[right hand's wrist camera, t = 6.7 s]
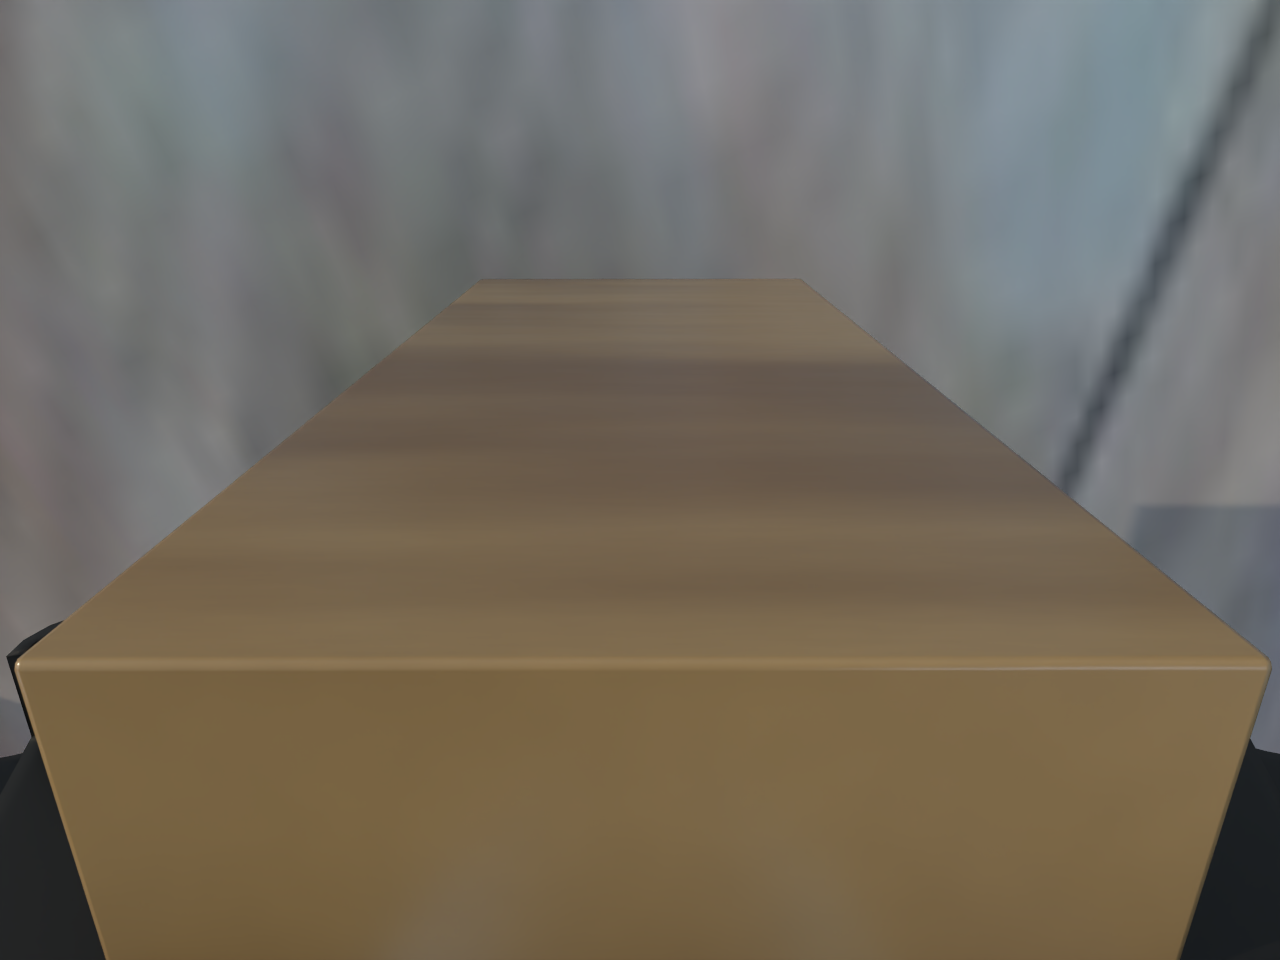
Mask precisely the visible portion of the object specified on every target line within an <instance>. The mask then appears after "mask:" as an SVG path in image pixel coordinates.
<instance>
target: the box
mask: <svg viewBox="0 0 1280 960" xmlns="http://www.w3.org/2000/svg"><path fill="white" fill-rule="evenodd" d="M1271 670H1272V666H1271V662H1270V660H1269V658H1268V657H1267V656H1266V655H1265V654H1263V653H1262V652H1261V651H1260V650H1258V649H1257V648H1256V647H1255V646H1253V645H1252V644H1251V643H1250V642H1249V641H1247V640H1246V639H1245V638H1244V637H1242V636H1241V635H1240V634H1239V633H1237V632H1236V631H1235V630H1234V629H1232V628H1231V627H1230V626H1229V625H1228V624H1226V623H1225V622H1224V621H1223V620H1221V619H1220V618H1219V617H1218V616H1216V615H1215V614H1214V613H1213V612H1211V611H1210V610H1209V609H1208V608H1207V607H1205V606H1204V605H1203V604H1202V603H1200V602H1199V601H1198V600H1197V599H1195V598H1194V597H1193V596H1192V595H1190V594H1189V593H1188V592H1187V591H1186V590H1184V589H1183V588H1182V587H1181V586H1179V585H1178V584H1177V583H1176V582H1174V581H1173V580H1172V579H1171V578H1169V577H1168V576H1167V575H1166V574H1165V573H1163V572H1162V571H1161V570H1160V569H1158V568H1157V567H1156V566H1155V565H1153V564H1152V563H1151V562H1150V561H1148V560H1147V559H1146V558H1145V557H1144V556H1142V555H1141V554H1140V553H1139V552H1137V551H1136V550H1135V549H1134V548H1132V547H1131V546H1130V545H1129V544H1127V543H1126V542H1125V541H1124V540H1123V539H1121V538H1120V537H1119V536H1118V535H1116V534H1115V533H1114V532H1113V531H1111V530H1110V529H1109V528H1108V527H1106V526H1105V525H1104V524H1103V523H1102V522H1100V521H1099V520H1098V519H1097V518H1095V517H1094V516H1093V515H1092V514H1090V513H1089V512H1088V511H1087V510H1085V509H1084V508H1083V507H1082V506H1081V505H1079V504H1078V503H1077V502H1076V501H1074V500H1073V499H1072V498H1071V497H1069V496H1068V495H1067V494H1066V493H1064V492H1063V491H1062V490H1061V489H1060V488H1058V487H1057V486H1056V485H1055V484H1053V483H1052V482H1051V481H1050V480H1048V479H1047V478H1046V477H1045V476H1043V475H1042V474H1041V473H1040V472H1038V471H1037V470H1036V469H1035V468H1034V467H1032V466H1031V465H1030V464H1029V463H1027V462H1026V461H1025V460H1024V459H1022V458H1021V457H1020V456H1019V455H1017V454H1016V453H1015V452H1014V451H1013V450H1011V449H1010V448H1009V447H1008V446H1006V445H1005V444H1004V443H1003V442H1001V441H1000V440H999V439H998V438H996V437H995V436H994V435H993V434H992V433H990V432H989V431H988V430H987V429H985V428H984V427H983V426H982V425H980V424H979V423H978V422H977V421H975V420H974V419H973V418H972V417H971V416H969V415H968V414H967V413H966V412H964V411H963V410H962V409H961V408H959V407H958V406H957V405H956V404H954V403H953V402H952V401H951V400H950V399H948V398H947V397H946V396H945V395H943V394H942V393H941V392H940V391H938V390H937V389H936V388H935V387H933V386H932V385H931V384H930V383H929V382H927V381H926V380H925V379H924V378H922V377H921V376H920V375H919V374H917V373H916V372H915V371H914V370H912V369H911V368H910V367H909V366H908V365H906V364H905V363H904V362H903V361H901V360H900V359H899V358H898V357H896V356H895V355H894V354H893V353H891V352H890V351H889V350H888V349H887V348H885V347H884V346H883V345H882V344H880V343H879V342H878V341H877V340H875V339H874V338H873V337H872V336H870V335H869V334H868V333H867V332H866V331H864V330H863V329H862V328H861V327H859V326H858V325H857V324H856V323H854V322H853V321H852V320H851V319H849V318H848V317H847V316H846V315H845V314H843V313H842V312H841V311H840V310H838V309H837V308H836V307H835V306H833V305H832V304H831V303H830V302H828V301H827V300H826V299H825V298H824V297H822V296H821V295H820V294H819V293H817V292H816V291H815V290H814V289H812V288H811V287H810V286H809V285H807V284H806V283H805V282H804V281H803V280H801V279H482V280H480V281H478V282H477V283H476V284H475V285H474V286H472V287H471V288H470V289H469V290H467V291H466V292H465V293H464V294H463V295H461V296H460V297H459V298H458V299H456V300H455V301H454V302H453V303H452V304H450V305H449V306H448V307H447V308H445V309H444V310H443V311H442V312H441V313H439V314H438V315H437V316H436V317H434V318H433V319H432V320H431V321H430V322H428V323H427V324H426V325H425V326H423V327H422V328H421V329H420V330H419V331H417V332H416V333H415V334H414V335H412V336H411V337H410V338H409V339H408V340H406V341H405V342H404V343H403V344H401V345H400V346H399V347H398V348H397V349H395V350H394V351H393V352H392V353H390V354H389V355H388V356H387V357H386V358H384V359H383V360H382V361H381V362H380V363H378V364H377V365H376V366H375V367H373V368H372V369H371V370H370V371H369V372H367V373H366V374H365V375H364V376H362V377H361V378H360V379H359V380H358V381H356V382H355V383H354V384H353V385H351V386H350V387H349V388H348V389H347V390H345V391H344V392H343V393H342V394H340V395H339V396H338V397H337V398H336V399H334V400H333V401H332V402H331V403H329V404H328V405H327V406H326V407H325V408H323V409H322V410H321V411H320V412H318V413H317V414H316V415H315V416H314V417H312V418H311V419H310V420H309V421H307V422H306V423H305V424H304V425H303V426H301V427H300V428H299V429H298V430H296V431H295V432H294V433H293V434H292V435H290V436H289V437H288V438H287V439H285V440H284V441H283V442H282V443H281V444H279V445H278V446H277V447H276V448H274V449H273V450H272V451H271V452H270V453H268V454H267V455H266V456H265V457H263V458H262V459H261V460H260V461H259V462H257V463H256V464H255V465H254V466H252V467H251V468H250V469H249V470H248V471H246V472H245V473H244V474H243V475H241V476H240V477H239V478H238V479H237V480H235V481H234V482H233V483H232V484H230V485H229V486H228V487H227V488H226V489H224V490H223V491H222V492H221V493H219V494H218V495H217V496H216V497H215V498H213V499H212V500H211V501H210V502H208V503H207V504H206V505H205V506H204V507H202V508H201V509H200V510H199V511H197V512H196V513H195V514H194V515H193V516H191V517H190V518H189V519H188V520H186V521H185V522H184V523H183V524H182V525H180V526H179V527H178V528H177V529H176V530H174V531H173V532H172V533H171V534H169V535H168V536H167V537H166V538H165V539H163V540H162V541H161V542H160V543H158V544H157V545H156V546H155V547H154V548H152V549H151V550H150V551H149V552H147V553H146V554H145V555H144V556H143V557H141V558H140V559H139V560H138V561H136V562H135V563H134V564H133V565H132V566H130V567H129V568H128V569H127V570H125V571H124V572H123V573H122V574H121V575H119V576H118V577H117V578H116V579H114V580H113V581H112V582H111V583H110V584H108V585H107V586H106V587H105V588H103V589H102V590H101V591H100V592H99V593H97V594H96V595H95V596H94V597H92V598H91V599H90V600H89V601H88V602H86V603H85V604H84V605H83V606H81V607H80V608H79V609H78V610H77V611H75V612H74V613H73V614H72V615H70V616H69V617H68V618H67V619H66V620H64V621H63V622H62V623H61V624H59V625H58V626H57V627H56V628H55V629H53V630H52V631H51V632H50V633H48V634H47V635H46V636H45V637H44V638H42V639H41V640H40V641H39V642H37V643H36V644H35V645H34V646H33V647H31V648H30V649H29V650H28V651H26V652H25V653H24V654H23V655H22V656H20V657H19V658H18V659H17V661H16V663H15V669H14V671H15V674H16V677H17V680H18V683H19V686H20V690H21V693H22V696H23V699H24V702H25V705H26V709H27V712H28V715H29V718H30V721H31V724H32V728H33V731H34V734H35V737H36V740H37V743H38V746H39V750H40V753H41V756H42V759H43V762H44V765H45V769H46V772H47V775H48V778H49V781H50V784H51V788H52V791H53V794H54V797H55V800H56V803H57V806H58V810H59V813H60V816H61V819H62V822H63V825H64V829H65V832H66V835H67V838H68V841H69V844H70V848H71V851H72V854H73V857H74V860H75V863H76V866H77V870H78V873H79V876H80V879H81V882H82V885H83V889H84V892H85V895H86V898H87V901H88V904H89V907H90V911H91V914H92V917H93V920H94V923H95V926H96V930H97V933H98V936H99V939H100V942H101V945H102V949H103V952H104V955H105V958H106V960H1180V957H1181V954H1182V951H1183V948H1184V945H1185V942H1186V938H1187V935H1188V932H1189V929H1190V926H1191V923H1192V920H1193V916H1194V913H1195V910H1196V907H1197V904H1198V901H1199V897H1200V894H1201V891H1202V888H1203V885H1204V882H1205V879H1206V875H1207V872H1208V869H1209V866H1210V863H1211V860H1212V856H1213V853H1214V850H1215V847H1216V844H1217V841H1218V838H1219V834H1220V831H1221V828H1222V825H1223V822H1224V819H1225V815H1226V812H1227V809H1228V806H1229V803H1230V800H1231V797H1232V793H1233V790H1234V787H1235V784H1236V781H1237V778H1238V774H1239V771H1240V768H1241V765H1242V762H1243V759H1244V756H1245V752H1246V749H1247V746H1248V743H1249V740H1250V737H1251V733H1252V730H1253V727H1254V724H1255V721H1256V718H1257V715H1258V711H1259V708H1260V705H1261V702H1262V699H1263V696H1264V692H1265V689H1266V686H1267V683H1268V680H1269V677H1270V674H1271Z"/></svg>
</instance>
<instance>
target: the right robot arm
mask: <svg viewBox="0 0 1280 960" xmlns="http://www.w3.org/2000/svg"><path fill="white" fill-rule="evenodd" d="M62 622H63V621H61V622H58V623H55V624H53V625H50V626H48V627H46V628H45V629H43V630H41V631H39V632H37V633H36V634H34V635H32V636H30V637H28V638H27V639H25V640H23V641H22V642H21V643H20V644H19V645H18V646H17V647H16V648H15V649H14V650H13V651H12V652H11V653H10V654H8V655H7V656H6V657H7V660H8V663H9V667H10V670H11V673H12V676H13V679H14V682H15V685H16V689H17V692H18V695H19V698H20V701H21V704H22V708H23V711H24V714H25V717H26V720H27V723H28V727H29V730H30V733H31V736H32V737H31V739H30V741H29V743H28V745H27V747H26V748H25V750H24V752H23V753H21V754H17V755H13V756H8V757H3V758H0V960H106V958H105V955H104V952H103V949H102V945H101V942H100V939H99V936H98V933H97V930H96V926H95V923H94V920H93V917H92V914H91V911H90V907H89V904H88V901H87V898H86V895H85V892H84V889H83V885H82V882H81V879H80V876H79V873H78V870H77V866H76V863H75V860H74V857H73V854H72V851H71V848H70V844H69V841H68V838H67V835H66V832H65V829H64V825H63V822H62V819H61V816H60V813H59V810H58V806H57V803H56V800H55V797H54V794H53V791H52V788H51V784H50V781H49V778H48V775H47V772H46V769H45V765H44V762H43V759H42V756H41V753H40V750H39V746H38V743H37V740H36V737H35V734H34V731H33V728H32V724H31V721H30V718H29V715H28V712H27V709H26V705H25V702H24V699H23V696H22V693H21V690H20V686H19V683H18V680H17V677H16V674H15V671H14V669H15V663H16V661H17V659H18V658H19V657H20V656H22V655H23V654H24V653H25V652H26V651H28V650H29V649H30V648H31V647H33V646H34V645H35V644H36V643H37V642H39V641H40V640H41V639H42V638H44V637H45V636H46V635H47V634H48V633H50V632H51V631H52V630H53V629H55V628H56V627H57V626H58V625H59V624H61V623H62ZM1180 960H1280V754H1278V753H1272V752H1267V751H1263V750H1259V749H1255V747H1254V745H1253V743H1252V741H1251V739H1250V740H1249V743H1248V746H1247V749H1246V752H1245V756H1244V759H1243V762H1242V765H1241V768H1240V771H1239V774H1238V778H1237V781H1236V784H1235V787H1234V790H1233V793H1232V797H1231V800H1230V803H1229V806H1228V809H1227V812H1226V815H1225V819H1224V822H1223V825H1222V828H1221V831H1220V834H1219V838H1218V841H1217V844H1216V847H1215V850H1214V853H1213V856H1212V860H1211V863H1210V866H1209V869H1208V872H1207V875H1206V879H1205V882H1204V885H1203V888H1202V891H1201V894H1200V897H1199V901H1198V904H1197V907H1196V910H1195V913H1194V916H1193V920H1192V923H1191V926H1190V929H1189V932H1188V935H1187V938H1186V942H1185V945H1184V948H1183V951H1182V954H1181V957H1180Z"/></svg>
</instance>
